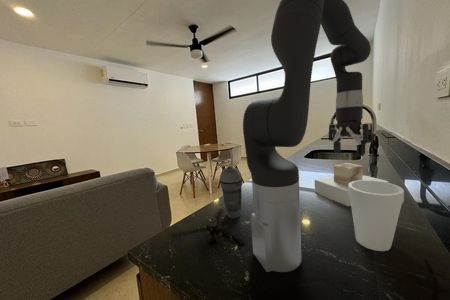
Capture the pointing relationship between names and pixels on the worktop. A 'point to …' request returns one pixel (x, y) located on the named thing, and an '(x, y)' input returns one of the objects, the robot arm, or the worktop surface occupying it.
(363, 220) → the foam cup
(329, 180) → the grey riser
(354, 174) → the maple block
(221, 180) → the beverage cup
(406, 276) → the worktop surface
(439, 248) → the worktop surface
